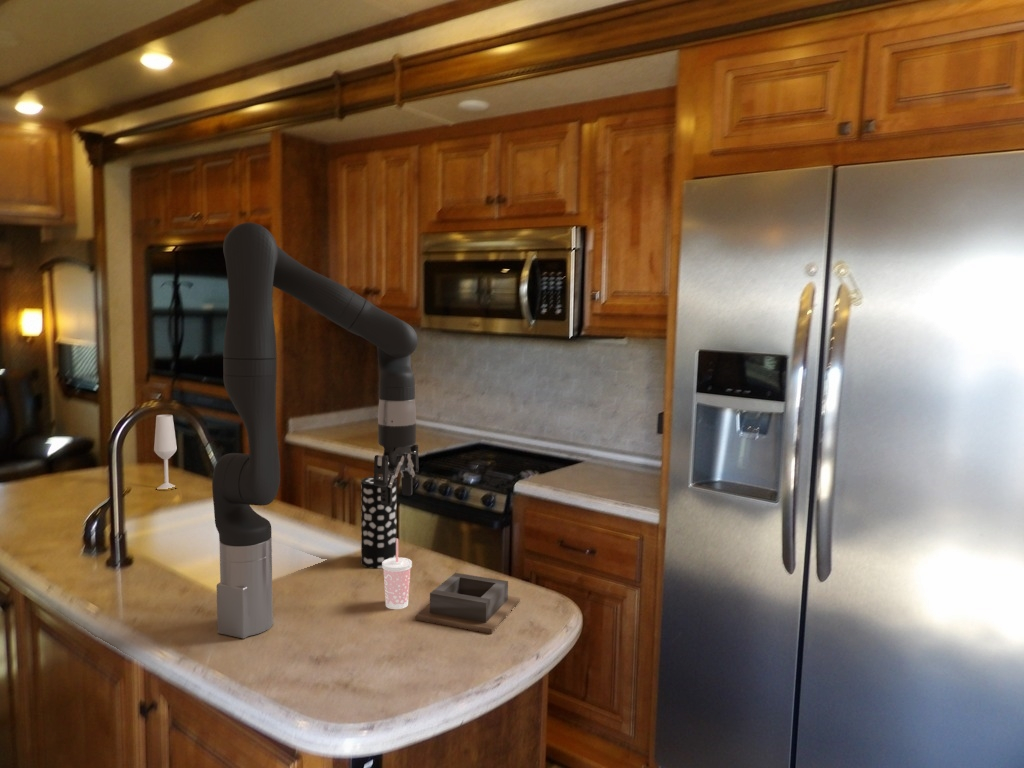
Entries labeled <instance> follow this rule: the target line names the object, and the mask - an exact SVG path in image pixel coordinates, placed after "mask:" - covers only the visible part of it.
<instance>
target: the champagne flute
mask: <svg viewBox="0 0 1024 768" xmlns="http://www.w3.org/2000/svg"><path fill="white" fill-rule="evenodd" d="M155 416H156V417H155V431H154V443H153V444H154V445H153V452H154V453H155V454H156V455H157V457H159V458H160V459H162V460H163V469H164V471H163V475H164V483H162V484H161V485H159V486H158V487H156V488H157V489H168V488H172V487H175V486H176V485H175V484H172V483H170V482H169V480H170V479H169V459H171V457H172V456H174V454H175V453H176V452H177V449H178V448H177V438H176V431H175V424H174V416H173V414H157V415H155Z"/></svg>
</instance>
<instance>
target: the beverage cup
mask: <svg viewBox="0 0 1024 768" xmlns="http://www.w3.org/2000/svg"><path fill="white" fill-rule="evenodd" d="M412 567H413V561H412V560H411V559H410V558H407V557H399V538H396V558H389V559H386V560H384V561H383V562H382V568H381V569H383V579H384V580H383V581H384V597H385V598H384V599H385V607H386V608H388V609H390V610H402V609H405V608H407V607H408V606H409V594H410V581H411V569H412Z"/></svg>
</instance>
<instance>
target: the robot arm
mask: <svg viewBox="0 0 1024 768" xmlns="http://www.w3.org/2000/svg"><path fill="white" fill-rule="evenodd" d="M222 251H223V256H224V261H225V267H226V276H227V277H226V278H227V287H228V288H227V289H228V308H227V317H226V320H225V321H226V322H225V323H226V324H225V329H224V338H223V339H224V340H223V354H222V357H223V362H222V363H223V364H222V365H223V367H222V368H223V369H222V371H223V377H222V378H223V385H224V389H225V391H226V394H227V396H228V398H229V400H230V402H231V403H232V405H233V406H234V409H235V410H236V412H237V413H238V415H239V416H240V417H239V418H240V420H241V421H242V423H243V424H244V428H245V431H246V433H247V441H248V453H239V452H238V453H237V452H231V453H226V454H224V455H222V456H221V457H220V458H219V459H218V460H217V462H216V464H215V466H214V469H213V474H212V478H211V479H212V480H211V481H212V482H211V483H212V485H211V488H212V490H211V491H212V499H213V514H214V524H215V528H216V530H217V533H218V538H219V539H218V540H219V572H220V573H219V574H220V575H219V576H220V577H219V579H220V582H218V583H217V584H216V615H217V616H216V617H217V618H216V619H217V621H216V623H217V634H221V635H225V636H230V637H235V638H238V639H239V638H240V639H246V638H248V637H251V636H254V635H258V634H261V633H264V632H265V631H267V630H269V629H271V627H272V626H273V623H274V617H273V615H274V614H273V613H274V610H273V609H274V608H273V607H274V605H273V602H274V601H273V557H272V556H273V555H272V554H273V553H272V552H273V545H272V544H273V543H272V524H271V522H270V521H269V520H268V519H267V518H265V517H264V516H262V515H261V514H259V513H257V512H256V511H255V510H254V509H253V508H252V506H260V507H264V506H268V505H270V504H272V502H273V501H274V500H275V499H276V497H277V495H278V493H279V489H280V484H281V483H280V482H281V463H280V453H279V440H278V430H277V429H278V427H277V399H276V398H277V373H278V372H277V371H278V370H277V367H278V366H277V365H278V364H277V363H278V359H277V356H278V355H277V340H276V339H277V338H276V337H277V336H276V329H275V320H274V313H273V289H274V288H276V289H278V290H280V291H282V292H284V293H286V294H288V295H290V296H292V298H295V299H296V300H298V301H300V302H301V303H302V304H304V305H306V306H307V307H309V308H310V309H312V310H314V311H315V312H317V313H318V314H320V315H321V316H323V317H325V318H326V319H327V320H328V321H331V322H333V323H334V324H336V325H338V326H339V327H340V328H343V329H345V330H346V331H347V332H350V333H351V334H354V335H357V336H359V337H361V338H363V339H364V340H366V341H367V342H370V344H372V345H374V346H376V349H377V360H378V368H379V384H378V386H379V388H378V389H379V390H378V391H379V393H378V396H379V400H378V408H377V409H378V410H377V411H378V412H377V443H378V445H380V446H381V447H383V454H382V455H381V454H380V455H379V454H378V455H377V454H375V455H374V457H373V458H374V459H373V477H374V485H375V486H379V487H380V488H381V505H383V506H391V505H392V484H393V481H394V479H397V477H398V475H399V473H400V474H401V476H402V477H401V494H402V496H407V497H408V496H412V495H413V492H414V491H413V488H414V487H413V486H414V485H413V482H414V481H413V478H414V477H415V475H416V473H418V472H419V469H420V467H419V463H420V461H419V445H418V444H417V443H416V442H417V408H416V407H417V406H416V381H415V379H416V378H415V374H414V372H413V369H412V354H413V353H414V352H415V351H416V350H417V347H418V343H419V342H418V341H419V339H418V334H417V332H416V330H415V329H414V328H413V327H412V326H411V325H410V324H409V323H407V322H405V321H404V320H402V319H400V318H398V317H396V316H394V315H393V314H391V313H388V312H387V311H384V310H383V309H381V308H380V307H377V306H376V305H375V304H373V303H372V302H370V301H369V300H367V299H366V298H365V297H363V296H361V295H360V294H358V293H356V292H355V291H354V290H351V289H350V288H349V287H346V286H345V285H342V284H341V283H339V282H337V281H335V280H333V279H331V278H328V277H327V276H324V275H322V274H320V273H318V272H316V271H314V270H312V269H311V268H309V267H307V266H306V265H303V264H302V263H300V262H299V261H298V260H296V259H294V257H292V256H290V255H289V254H288V253H287V252H286V251H284V250H283V249H282V248H281V247H279V246H278V245H277V241H276V239H275V237H274V235H272V233H271V232H270V231H269V230H268V229H267V228H266V227H264V226H263V225H261V224H258V223H255V222H243V223H240V224H238V225H235V226H234V227H233V228H231V229H230V231H228V232H227V234H226V235H225V237H224V240H223V244H222ZM379 476H381V477H380V480H379ZM388 477H389V480H388Z"/></svg>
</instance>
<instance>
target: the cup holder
mask: <svg viewBox="0 0 1024 768" xmlns="http://www.w3.org/2000/svg"><path fill="white" fill-rule="evenodd" d="M519 602H520V603H521V598H520V597H518V596H512V595H509V580H505V579H504V580H503V579H498V578H497V579H496V578H492V577H491V578H490V577H484V576H479V575H472V574H464V573H459V572H455V573H453V574H452V575H451V576H448V578H447V579H446V580H444V581H443V582H442V583H441V584H439V585H438V586H437V587H436V588H435V589H433V590H432V591H431V592H429V604H427V605H426V606H425V607H424V608H423V609H421V610H420V611H419V612H418V613H417V614H416V615H415V621H420V622H426V623H431V624H435V623H436V624H437V625H441V624H442V625H441V626H446V625H447V627H451V626H453V628H457V627H459V628H458V629H462V628H464V629H463V630H467V629H468V631H473V632H478V631H479V633H483V632H486V633H485V634H489V633H491V634H490V635H493V633H494V632H495V631H496V630H497V629H496V628H499V626H500V625H501V624H502V623H503V622H504V621H505V620H504V619H507V617H508V616H509V615H510V614H511V613H512V612H511V610H512V609H513V608H514V607H515V606H516V605H517V604H518V603H519ZM520 603H519V604H520ZM519 604H518V605H519ZM518 605H517V606H518ZM517 606H516V607H517ZM516 607H515V608H516ZM515 608H514V609H515ZM510 612H511V613H510ZM509 613H510V614H509ZM508 614H509V615H508ZM507 615H508V616H507ZM506 616H507V617H506ZM503 620H504V621H503ZM502 621H503V622H502ZM501 622H502V623H501ZM500 623H501V624H500ZM499 624H500V625H499ZM495 629H496V630H495ZM494 630H495V631H494ZM493 631H494V632H493Z"/></svg>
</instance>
